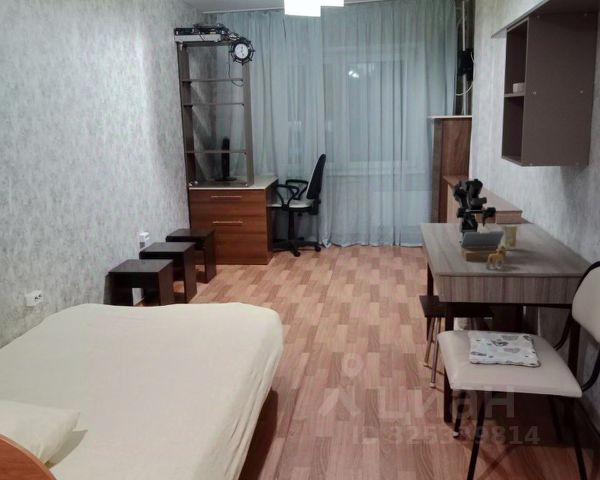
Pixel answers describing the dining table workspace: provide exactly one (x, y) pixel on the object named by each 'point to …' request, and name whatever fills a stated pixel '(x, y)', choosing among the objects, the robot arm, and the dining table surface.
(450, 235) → the dining table surface
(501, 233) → the lid
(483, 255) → the walnut box
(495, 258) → the lion figurine
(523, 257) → the dining table surface
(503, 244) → the skincare box
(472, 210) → the robot arm
